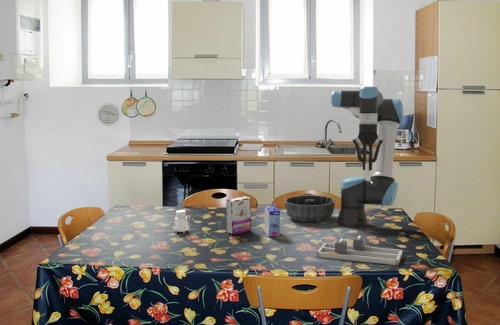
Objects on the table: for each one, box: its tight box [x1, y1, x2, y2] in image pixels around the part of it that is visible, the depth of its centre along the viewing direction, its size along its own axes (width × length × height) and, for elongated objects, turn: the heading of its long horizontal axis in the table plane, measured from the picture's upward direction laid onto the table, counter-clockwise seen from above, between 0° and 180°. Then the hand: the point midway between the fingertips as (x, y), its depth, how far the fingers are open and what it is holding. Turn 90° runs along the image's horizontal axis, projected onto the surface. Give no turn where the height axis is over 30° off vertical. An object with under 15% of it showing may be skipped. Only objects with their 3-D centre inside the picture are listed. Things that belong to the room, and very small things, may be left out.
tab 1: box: [334, 238, 348, 254], centre depth 227 cm, size 4×4×7 cm
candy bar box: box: [225, 196, 252, 235], centre depth 269 cm, size 11×5×16 cm, turn 126°
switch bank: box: [315, 242, 403, 266], centre depth 228 cm, size 14×32×4 cm, turn 69°
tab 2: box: [352, 235, 366, 251], centre depth 231 cm, size 4×4×7 cm
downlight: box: [172, 209, 191, 231], centre depth 273 cm, size 8×7×10 cm
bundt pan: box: [283, 194, 337, 223], centre depth 294 cm, size 26×26×10 cm
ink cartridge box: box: [263, 202, 281, 237], centre depth 265 cm, size 10×6×14 cm, turn 11°
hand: (367, 177), depth 244 cm, fingers closed
